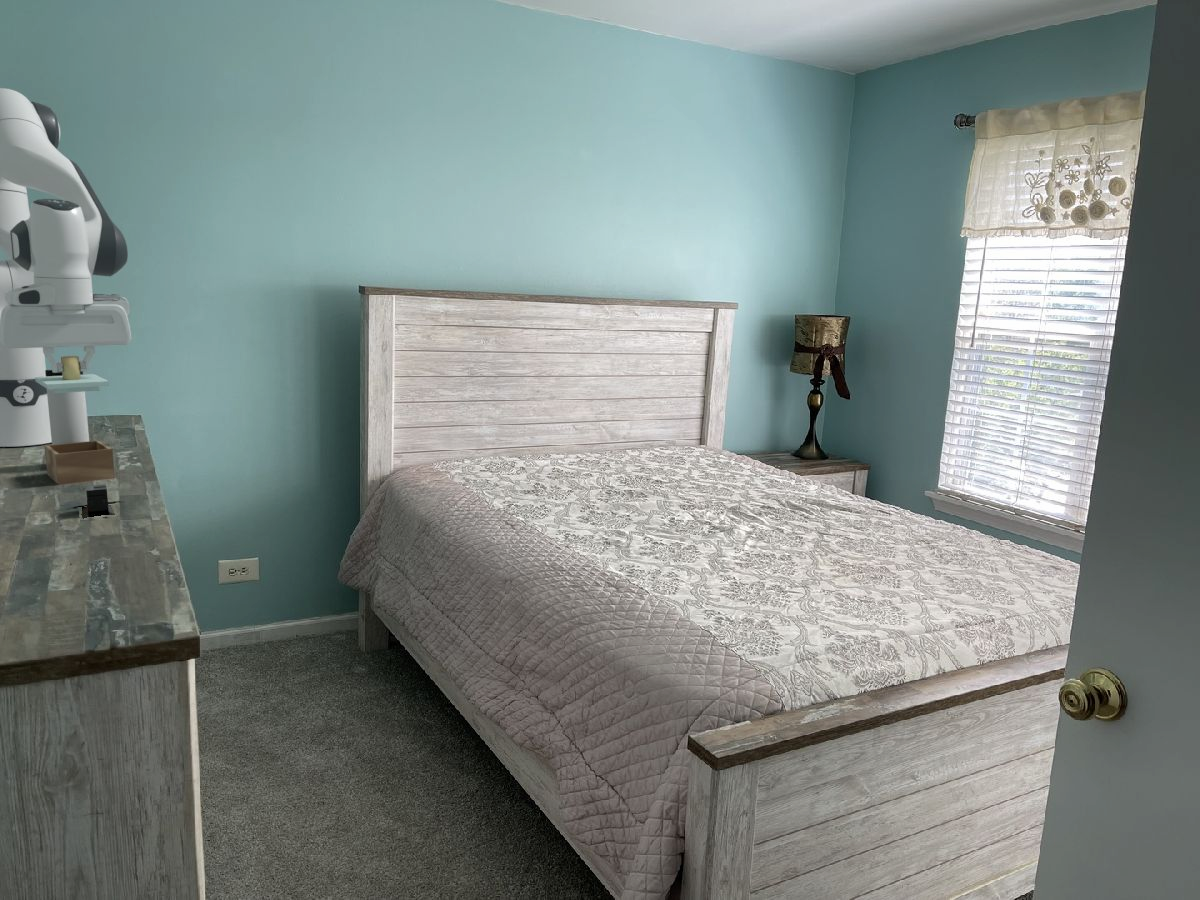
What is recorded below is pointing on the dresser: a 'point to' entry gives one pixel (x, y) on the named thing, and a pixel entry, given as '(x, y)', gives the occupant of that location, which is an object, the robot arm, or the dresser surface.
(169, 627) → the dresser surface
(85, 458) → the box
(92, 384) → the lid
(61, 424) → the travel mug
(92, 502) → the black stepped block
